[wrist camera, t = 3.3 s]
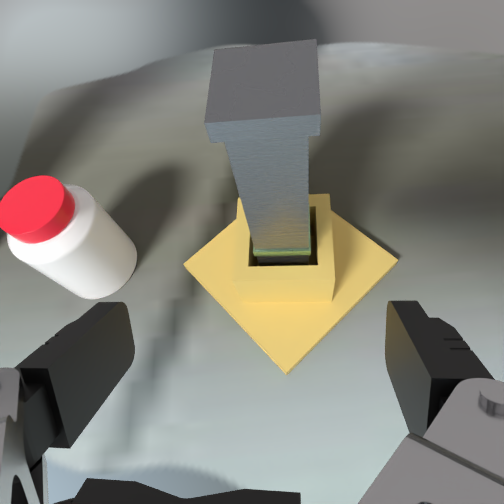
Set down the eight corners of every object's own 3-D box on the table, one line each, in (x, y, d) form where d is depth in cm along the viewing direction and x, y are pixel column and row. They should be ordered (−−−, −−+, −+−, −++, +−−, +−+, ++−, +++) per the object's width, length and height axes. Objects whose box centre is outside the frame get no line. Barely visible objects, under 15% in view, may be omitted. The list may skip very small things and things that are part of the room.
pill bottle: (84, 315, 35) (-1, 267, 26) (54, 261, 39) (-30, 201, 29) (150, 267, 37) (94, 205, 27) (116, 218, 40) (55, 148, 31)
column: (314, 285, 32) (320, 114, 15) (258, 286, 33) (204, 123, 16) (312, 231, 35) (315, 32, 18) (260, 233, 35) (215, 43, 18)
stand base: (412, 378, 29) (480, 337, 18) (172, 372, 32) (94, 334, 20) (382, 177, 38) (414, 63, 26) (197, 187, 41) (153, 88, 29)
